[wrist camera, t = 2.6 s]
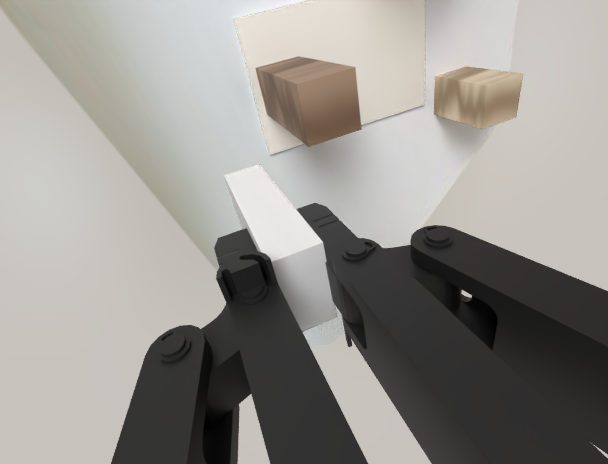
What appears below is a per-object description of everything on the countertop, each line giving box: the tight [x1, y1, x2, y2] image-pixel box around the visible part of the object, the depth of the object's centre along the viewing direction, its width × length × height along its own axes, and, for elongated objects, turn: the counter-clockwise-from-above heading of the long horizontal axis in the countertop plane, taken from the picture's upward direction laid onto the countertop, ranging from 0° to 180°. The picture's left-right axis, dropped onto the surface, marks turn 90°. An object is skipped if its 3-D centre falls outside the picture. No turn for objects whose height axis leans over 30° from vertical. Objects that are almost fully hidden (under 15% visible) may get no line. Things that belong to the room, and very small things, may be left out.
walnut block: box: [255, 56, 361, 147], centre depth 30 cm, size 4×4×12 cm
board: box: [234, 0, 425, 155], centre depth 36 cm, size 13×20×1 cm, turn 101°
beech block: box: [434, 67, 523, 129], centre depth 39 cm, size 4×4×8 cm
